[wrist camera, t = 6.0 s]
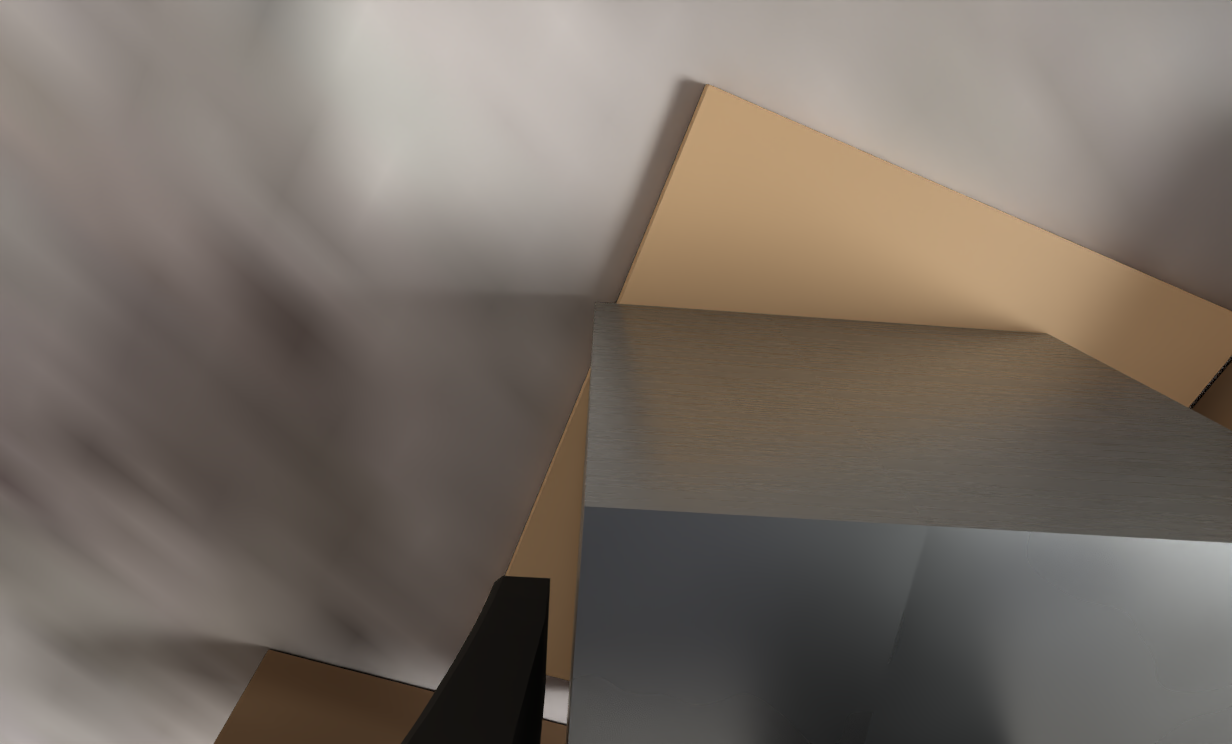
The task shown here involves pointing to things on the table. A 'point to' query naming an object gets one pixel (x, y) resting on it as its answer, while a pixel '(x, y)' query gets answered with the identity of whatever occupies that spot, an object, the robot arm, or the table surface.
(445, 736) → the robot arm
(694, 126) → the pad
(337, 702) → the walls
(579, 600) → the bracket
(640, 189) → the table surface
